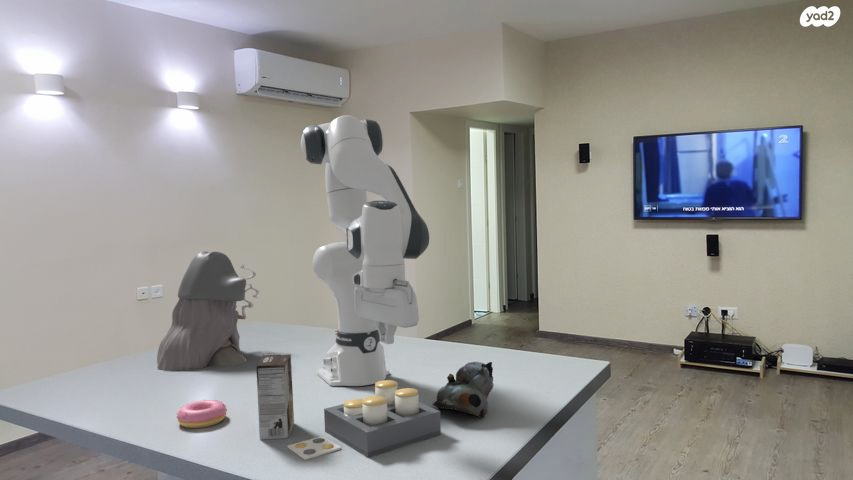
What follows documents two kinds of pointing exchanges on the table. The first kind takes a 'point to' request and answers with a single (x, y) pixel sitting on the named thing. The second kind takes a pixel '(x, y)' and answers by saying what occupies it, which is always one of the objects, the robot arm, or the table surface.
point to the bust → (206, 316)
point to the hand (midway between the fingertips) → (387, 342)
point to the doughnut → (201, 413)
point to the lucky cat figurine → (467, 389)
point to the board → (382, 429)
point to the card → (314, 447)
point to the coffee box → (275, 396)
